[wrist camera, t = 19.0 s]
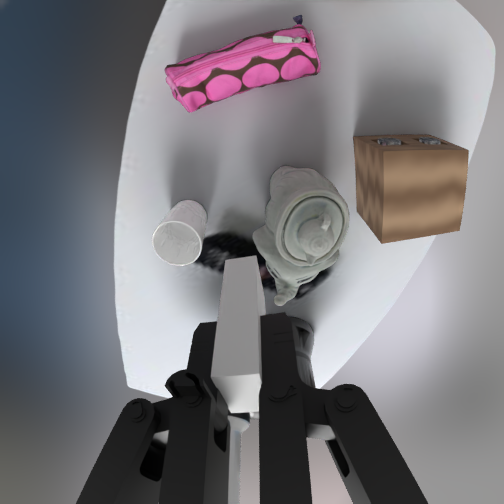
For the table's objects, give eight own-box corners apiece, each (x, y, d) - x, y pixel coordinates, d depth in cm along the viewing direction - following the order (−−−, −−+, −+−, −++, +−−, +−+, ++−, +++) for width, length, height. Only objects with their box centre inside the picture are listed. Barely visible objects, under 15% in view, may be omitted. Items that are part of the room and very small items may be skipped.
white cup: (160, 207, 49) (142, 233, 40) (197, 189, 47) (185, 212, 38) (181, 241, 52) (169, 272, 44) (217, 226, 51) (211, 255, 42)
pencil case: (295, 23, 32) (306, 5, 23) (316, 74, 37) (333, 69, 28) (168, 68, 36) (147, 63, 27) (191, 118, 41) (175, 124, 32)
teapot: (278, 259, 55) (288, 332, 39) (226, 203, 48) (214, 264, 32) (349, 212, 49) (390, 271, 33) (303, 146, 43) (334, 179, 27)
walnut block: (426, 202, 47) (459, 230, 37) (356, 211, 49) (381, 243, 39) (428, 134, 40) (468, 150, 30) (353, 136, 42) (383, 151, 31)
